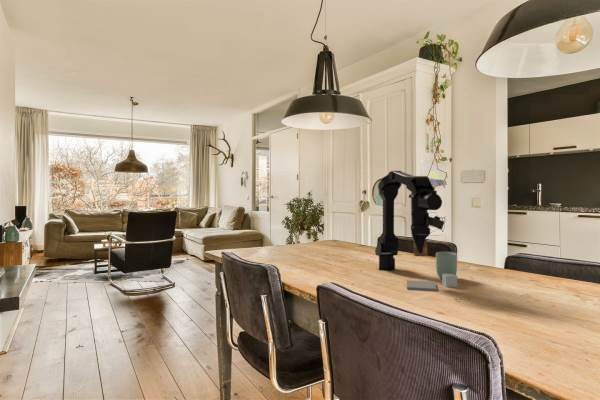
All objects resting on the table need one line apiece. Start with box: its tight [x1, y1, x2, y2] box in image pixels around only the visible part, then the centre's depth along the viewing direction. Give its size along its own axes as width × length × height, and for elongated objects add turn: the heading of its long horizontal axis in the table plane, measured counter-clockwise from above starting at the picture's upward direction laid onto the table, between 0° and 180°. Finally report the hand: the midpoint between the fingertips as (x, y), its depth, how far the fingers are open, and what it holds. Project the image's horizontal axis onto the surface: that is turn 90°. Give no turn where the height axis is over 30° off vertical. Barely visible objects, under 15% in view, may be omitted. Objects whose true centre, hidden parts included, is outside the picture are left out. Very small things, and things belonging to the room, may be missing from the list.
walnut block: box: [413, 238, 428, 257], centre depth 135 cm, size 4×4×6 cm
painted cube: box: [441, 274, 458, 288], centre depth 133 cm, size 4×4×4 cm
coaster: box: [406, 280, 438, 292], centre depth 133 cm, size 10×10×1 cm
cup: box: [435, 251, 458, 279], centre depth 144 cm, size 8×8×10 cm
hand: (420, 251), depth 135 cm, fingers closed on walnut block, 4 cm apart
